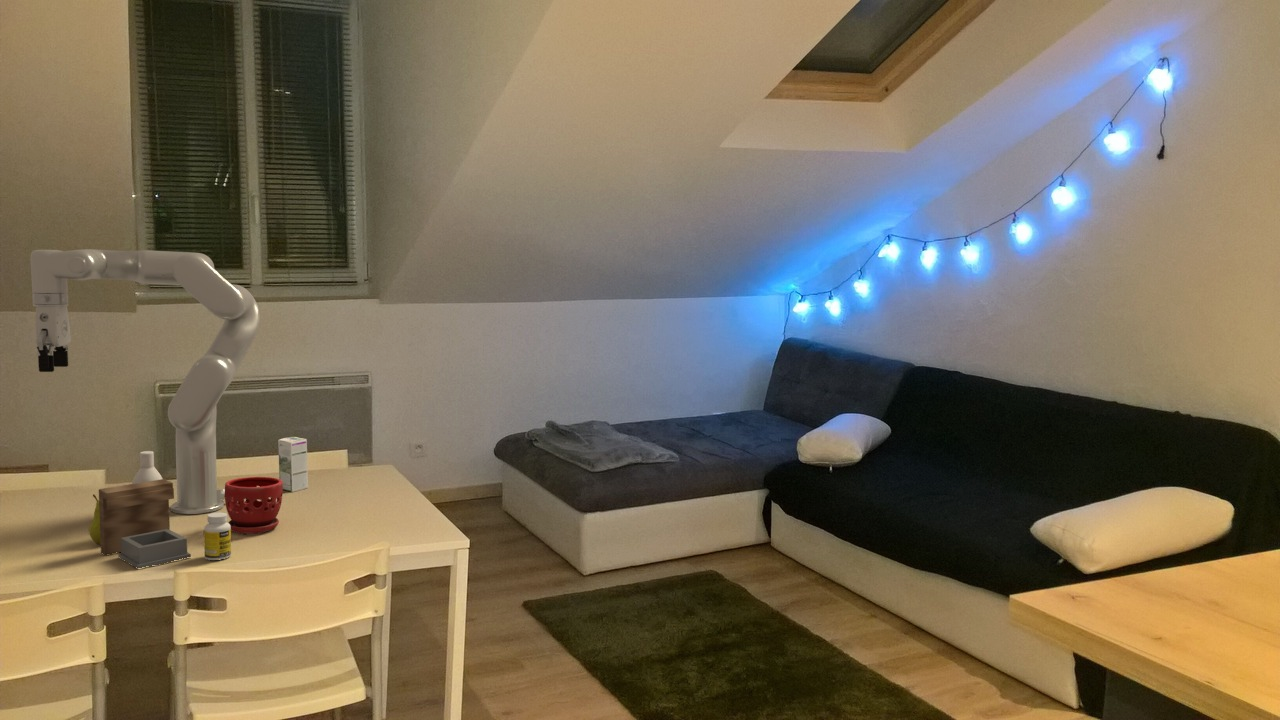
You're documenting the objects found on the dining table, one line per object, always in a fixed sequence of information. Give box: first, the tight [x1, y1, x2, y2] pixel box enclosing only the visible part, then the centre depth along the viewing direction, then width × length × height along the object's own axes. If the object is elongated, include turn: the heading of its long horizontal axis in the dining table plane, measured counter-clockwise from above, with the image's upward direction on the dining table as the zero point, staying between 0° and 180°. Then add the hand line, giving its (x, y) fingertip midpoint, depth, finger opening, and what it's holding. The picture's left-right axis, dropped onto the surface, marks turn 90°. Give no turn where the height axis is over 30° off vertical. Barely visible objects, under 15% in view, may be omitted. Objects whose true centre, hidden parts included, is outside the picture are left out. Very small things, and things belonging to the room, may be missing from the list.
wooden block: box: [98, 478, 175, 556], centre depth 220 cm, size 14×5×15 cm, turn 138°
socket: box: [117, 529, 192, 568], centre depth 214 cm, size 11×11×4 cm
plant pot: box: [224, 476, 284, 535], centre depth 237 cm, size 13×13×12 cm
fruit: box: [88, 494, 101, 545], centre depth 223 cm, size 6×6×12 cm
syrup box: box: [277, 436, 309, 493], centre depth 275 cm, size 6×6×14 cm
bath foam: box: [131, 450, 163, 484], centre depth 230 cm, size 7×7×20 cm
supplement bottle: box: [203, 512, 232, 561], centre depth 216 cm, size 5×5×10 cm
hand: (54, 369), depth 242 cm, fingers open, 9 cm apart
